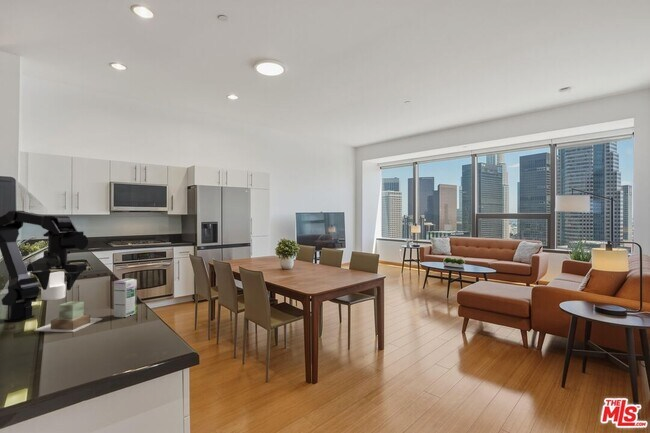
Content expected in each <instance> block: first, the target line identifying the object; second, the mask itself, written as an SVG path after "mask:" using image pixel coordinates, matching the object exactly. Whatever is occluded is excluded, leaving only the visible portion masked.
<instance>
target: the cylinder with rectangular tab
mask: <svg viewBox="0 0 650 433" xmlns="http://www.w3.org/2000/svg"><path fill="white" fill-rule="evenodd" d="M64 273H65V271H61V270H59V271H55V272H50V276H49V281H48V286H47V289H46V290H43V288H42V286H40V287H41V288H40V289H41V291H40V300H42V301H55V300H60V299H64V298H66V292H67V283H65V274H64Z"/></svg>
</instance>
